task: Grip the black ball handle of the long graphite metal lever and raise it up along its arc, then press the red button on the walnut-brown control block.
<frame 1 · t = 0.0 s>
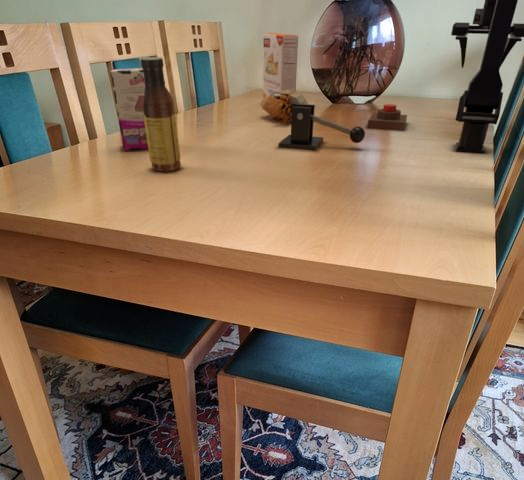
hand: (480, 68, 126), 15 cm above the table, tool pointing down, fingers open, 9 cm apart
button: (389, 108, 132), point 4 cm above the table, slide at 0.1 cm
button block: (387, 125, 135), on the table
lever: (330, 124, 110), point 5 cm above the table, hinge at -15.0°
nautilus: (281, 121, 139), on the table
bracket: (301, 145, 115), on the table
cracker box: (278, 107, 160), on the table
sauce bottle: (166, 169, 97), on the table
candy bar box: (146, 148, 112), on the table
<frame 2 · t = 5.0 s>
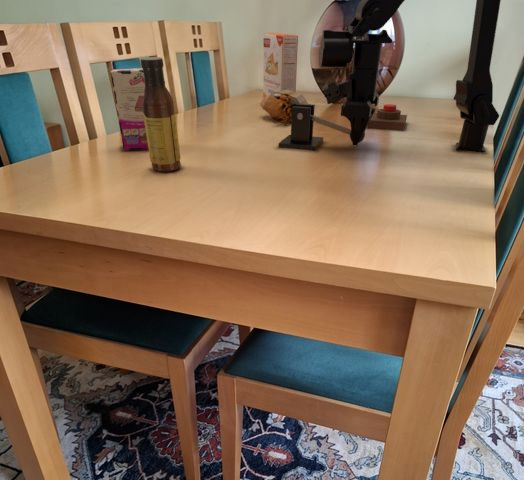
hand: (356, 143, 111), 1 cm above the table, tool pointing down, fingers closed on lever, 3 cm apart
lever: (330, 124, 110), point 5 cm above the table, hinge at -15.0°, touching gripper
everything else where it was.
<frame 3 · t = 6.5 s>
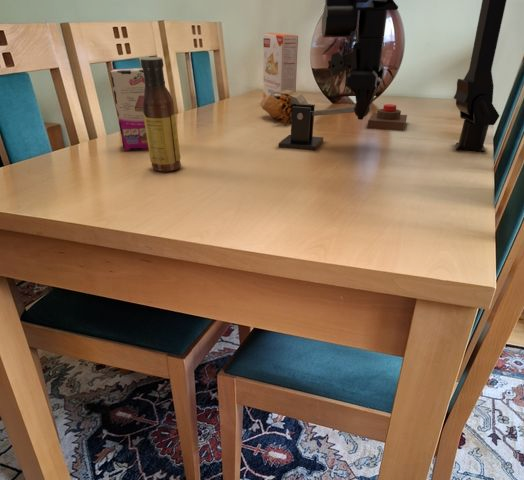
hand: (361, 117, 107), 7 cm above the table, tool pointing down, fingers closed on lever, 3 cm apart
lever: (332, 111, 108), point 8 cm above the table, hinge at 7.9°, touching gripper
everything else where it was.
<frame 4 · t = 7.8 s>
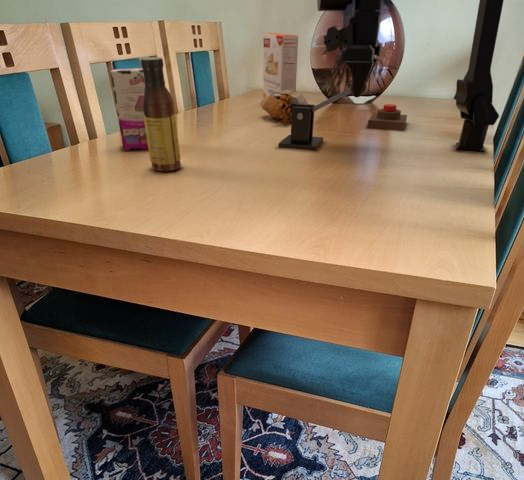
hand: (358, 96, 105), 11 cm above the table, tool pointing down, fingers closed on lever, 3 cm apart
lever: (330, 100, 107), point 10 cm above the table, hinge at 26.9°, touching gripper
everything else where it was.
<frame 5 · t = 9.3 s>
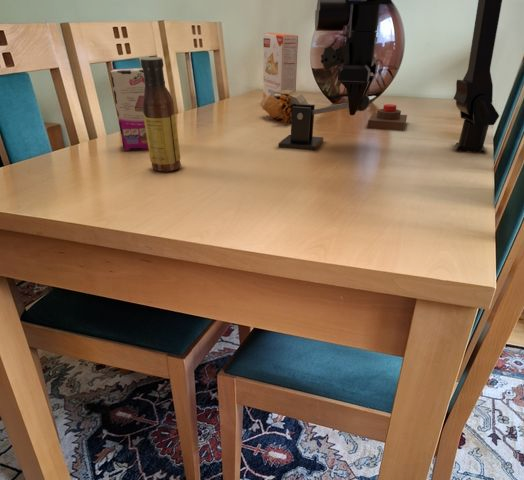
hand: (354, 112, 107), 8 cm above the table, tool pointing down, fingers open, 6 cm apart
lever: (332, 108, 108), point 9 cm above the table, hinge at 13.5°
everything else where it was.
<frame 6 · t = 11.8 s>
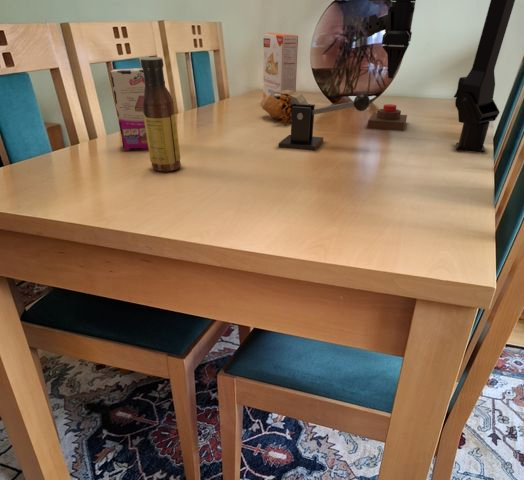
hand: (391, 76, 121), 13 cm above the table, tool pointing down, fingers open, 9 cm apart
nothing on the table moved.
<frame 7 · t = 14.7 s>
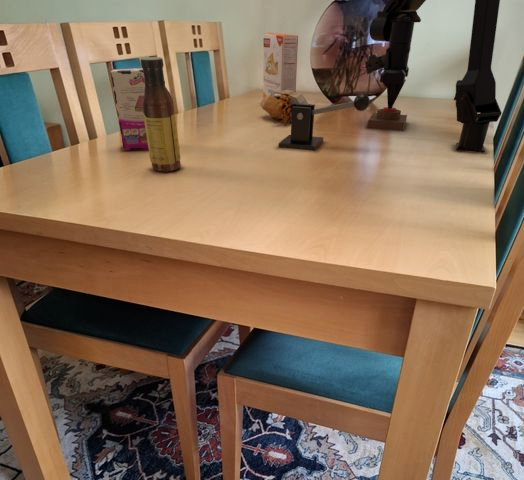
hand: (389, 108, 132), 5 cm above the table, tool pointing down, fingers closed, pressing on button
button: (389, 111, 133), point 4 cm above the table, slide at -0.6 cm, touching gripper
everything else where it was.
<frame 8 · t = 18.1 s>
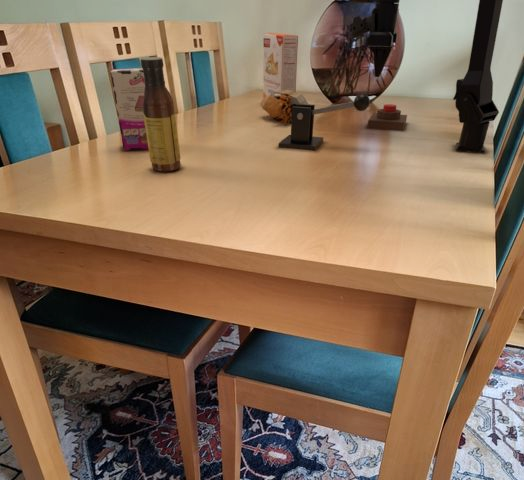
hand: (377, 77, 122), 13 cm above the table, tool pointing down, fingers closed
button: (389, 108, 132), point 4 cm above the table, slide at 0.1 cm
everything else where it was.
at the end: lever at +14° (first picture: -15°); button pushed in 1.1 cm at the most during the clip, back to where it started at the end; button slide at 0.1 cm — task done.
